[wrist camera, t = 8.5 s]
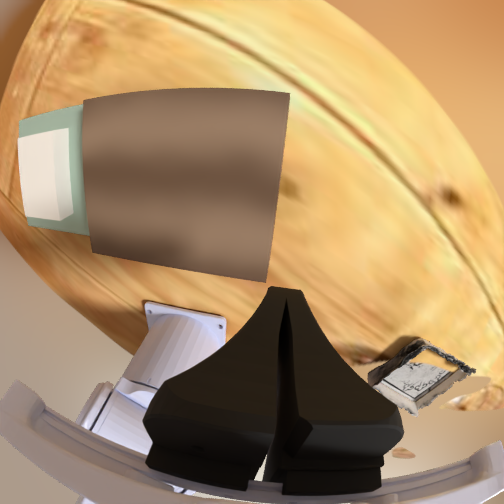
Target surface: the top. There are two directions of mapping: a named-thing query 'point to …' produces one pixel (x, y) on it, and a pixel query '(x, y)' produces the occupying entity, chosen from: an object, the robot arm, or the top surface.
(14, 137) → the top surface
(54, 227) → the sage mat
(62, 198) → the plate
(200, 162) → the plate
